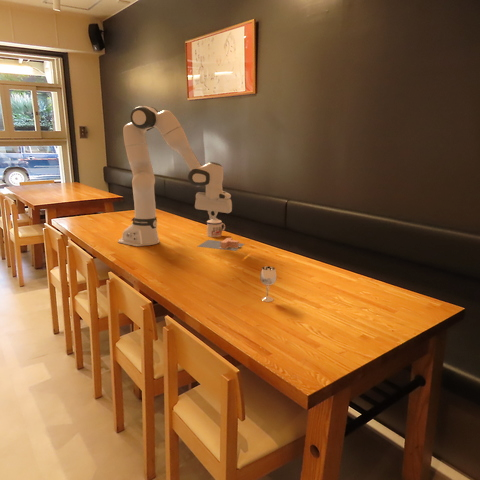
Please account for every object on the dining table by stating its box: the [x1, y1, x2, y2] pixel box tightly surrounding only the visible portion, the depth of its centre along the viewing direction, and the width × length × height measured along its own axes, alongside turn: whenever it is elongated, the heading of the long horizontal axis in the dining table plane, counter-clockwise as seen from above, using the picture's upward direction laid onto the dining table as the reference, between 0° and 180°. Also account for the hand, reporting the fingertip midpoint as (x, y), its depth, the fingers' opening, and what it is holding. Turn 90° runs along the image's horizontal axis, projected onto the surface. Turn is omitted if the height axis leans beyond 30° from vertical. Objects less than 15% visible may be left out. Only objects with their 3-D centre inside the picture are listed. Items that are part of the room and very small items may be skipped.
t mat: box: [197, 239, 245, 252], centre depth 214 cm, size 22×15×1 cm
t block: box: [220, 237, 240, 248], centre depth 211 cm, size 8×10×3 cm
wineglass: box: [259, 265, 277, 303], centre depth 143 cm, size 6×6×12 cm
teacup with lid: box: [206, 218, 226, 238], centre depth 234 cm, size 12×9×12 cm
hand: (212, 219), depth 211 cm, fingers closed
